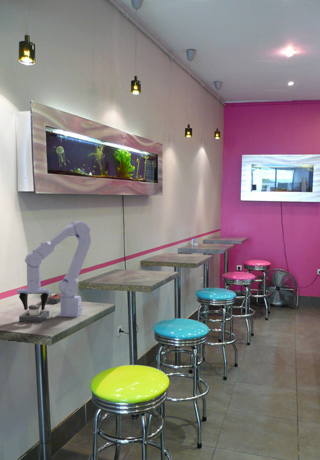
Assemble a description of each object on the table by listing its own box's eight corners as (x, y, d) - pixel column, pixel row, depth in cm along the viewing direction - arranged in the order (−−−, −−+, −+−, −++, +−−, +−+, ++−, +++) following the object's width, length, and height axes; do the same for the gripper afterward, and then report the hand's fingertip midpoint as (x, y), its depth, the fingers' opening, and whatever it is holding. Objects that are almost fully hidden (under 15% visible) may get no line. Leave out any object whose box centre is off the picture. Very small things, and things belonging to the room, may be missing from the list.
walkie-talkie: (50, 298, 230) (34, 307, 210) (50, 290, 230) (34, 299, 210) (65, 298, 229) (51, 308, 209) (65, 290, 228) (51, 299, 209)
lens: (42, 319, 190) (41, 306, 189) (32, 321, 186) (32, 308, 186) (35, 317, 193) (35, 304, 192) (26, 319, 189) (26, 306, 189)
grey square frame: (49, 316, 195) (49, 310, 194) (41, 322, 185) (41, 317, 184) (28, 315, 195) (28, 310, 195) (19, 322, 185) (19, 316, 185)
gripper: (52, 278, 192) (53, 307, 193) (20, 278, 193) (21, 307, 194) (47, 281, 185) (48, 311, 186) (15, 281, 186) (16, 311, 187)
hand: (34, 309), depth 190 cm, fingers open, 7 cm apart
